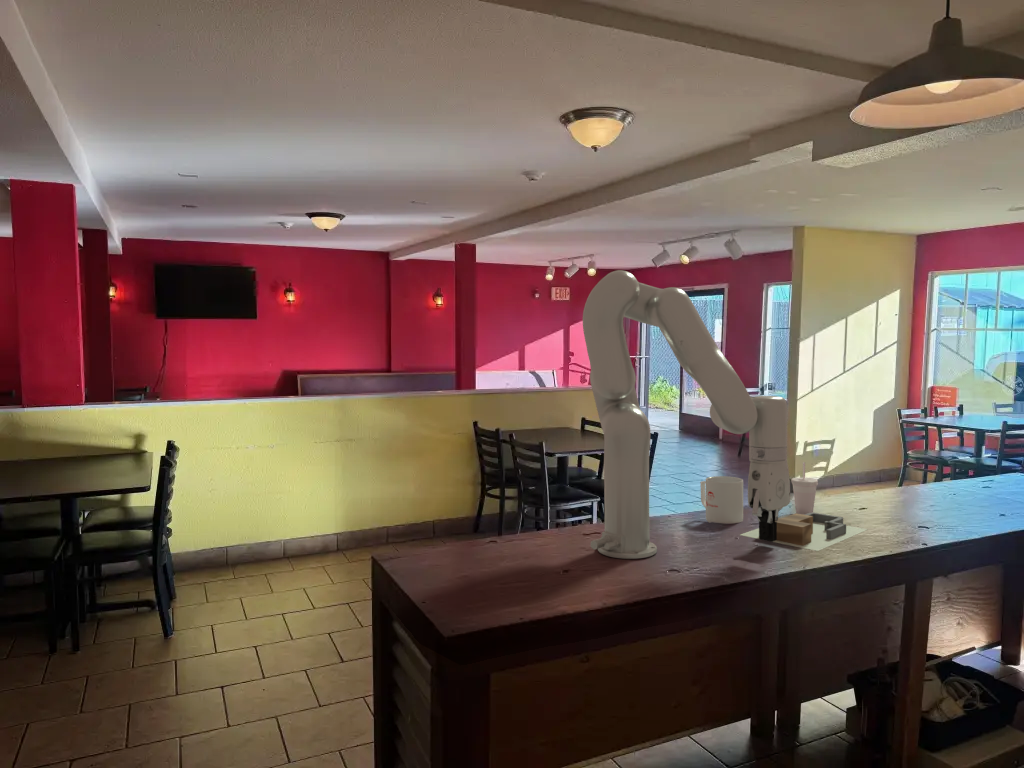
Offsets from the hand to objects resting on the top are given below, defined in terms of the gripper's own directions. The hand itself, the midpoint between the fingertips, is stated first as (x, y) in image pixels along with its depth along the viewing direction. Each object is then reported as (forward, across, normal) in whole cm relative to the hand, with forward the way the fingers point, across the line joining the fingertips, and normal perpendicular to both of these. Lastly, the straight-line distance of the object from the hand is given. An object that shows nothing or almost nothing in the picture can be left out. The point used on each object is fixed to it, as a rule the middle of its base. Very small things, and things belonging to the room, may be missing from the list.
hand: (767, 539), depth 151 cm
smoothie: (+3, +35, +9) cm, 36 cm away
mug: (+3, +15, +21) cm, 26 cm away
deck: (+3, +16, 0) cm, 17 cm away
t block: (+1, +11, 0) cm, 11 cm away
